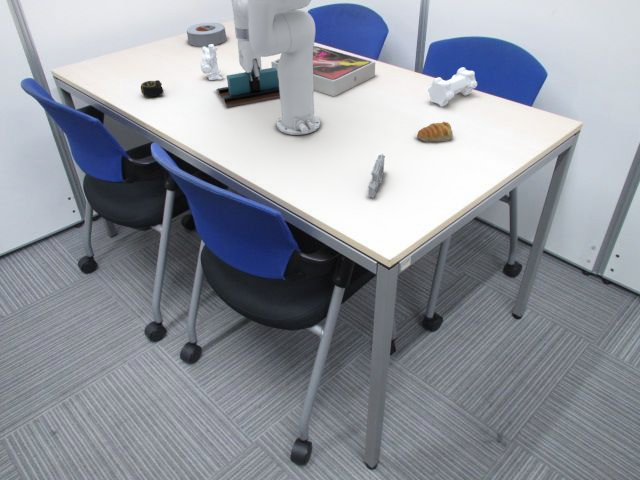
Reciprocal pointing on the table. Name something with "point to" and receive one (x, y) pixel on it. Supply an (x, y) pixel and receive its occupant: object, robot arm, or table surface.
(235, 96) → the holder board
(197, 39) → the tape roll
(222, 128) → the table surface
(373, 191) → the garden wall model
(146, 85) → the tape measure
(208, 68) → the white animal statuette
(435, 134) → the pastry
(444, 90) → the bone shaped toy
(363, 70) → the product packaging
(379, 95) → the table surface
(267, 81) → the teal bar
